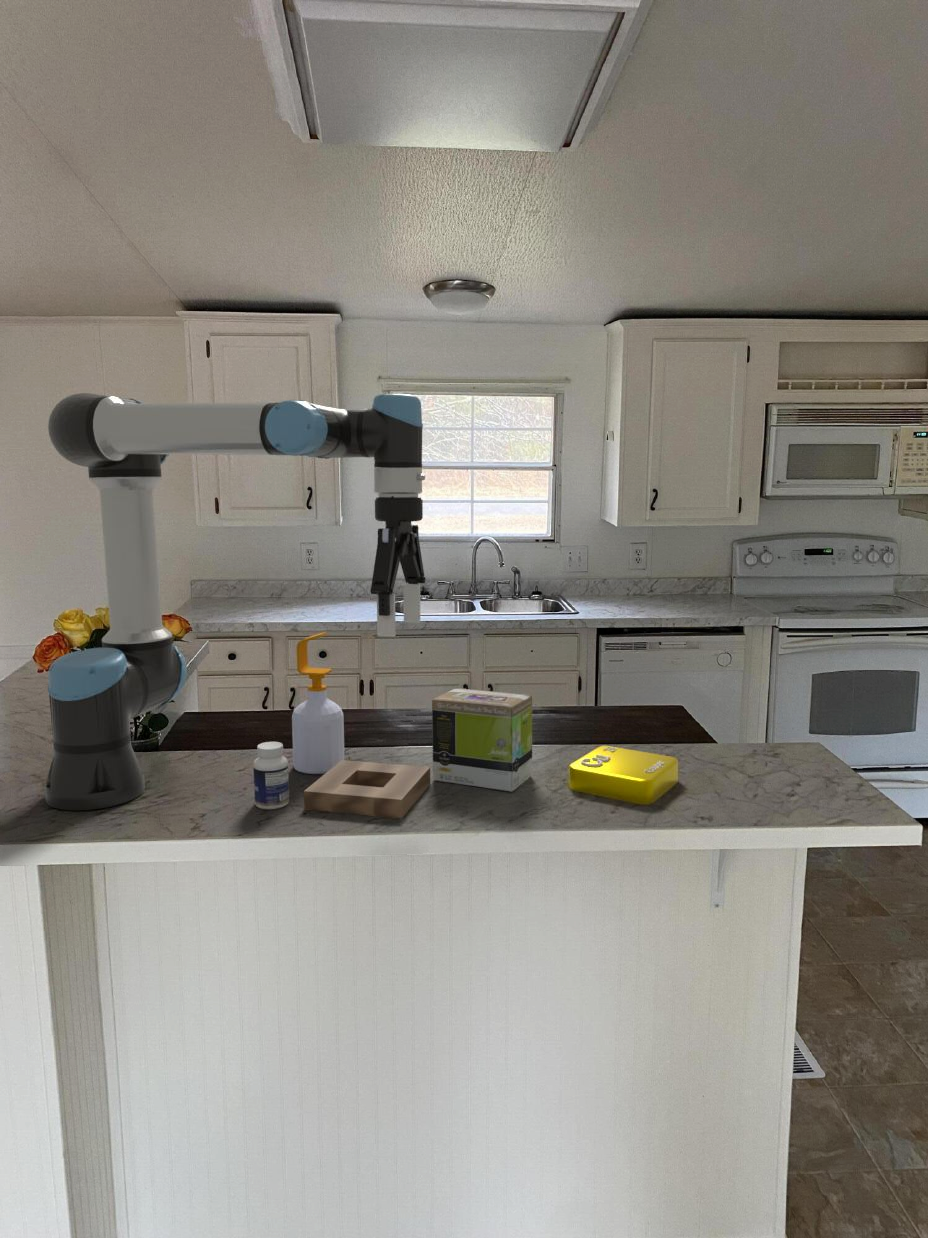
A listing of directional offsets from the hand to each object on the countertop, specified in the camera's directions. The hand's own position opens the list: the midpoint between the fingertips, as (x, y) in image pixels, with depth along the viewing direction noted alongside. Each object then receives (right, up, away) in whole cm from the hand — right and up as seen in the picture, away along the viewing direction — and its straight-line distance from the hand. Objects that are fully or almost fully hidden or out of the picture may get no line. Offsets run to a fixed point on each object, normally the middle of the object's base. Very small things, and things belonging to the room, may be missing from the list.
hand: (399, 629), depth 142 cm
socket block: (-5, -27, +2) cm, 28 cm away
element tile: (+38, -27, +8) cm, 47 cm away
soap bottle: (-16, -25, +17) cm, 34 cm away
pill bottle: (-20, -28, -1) cm, 35 cm away
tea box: (+14, -26, +11) cm, 32 cm away
